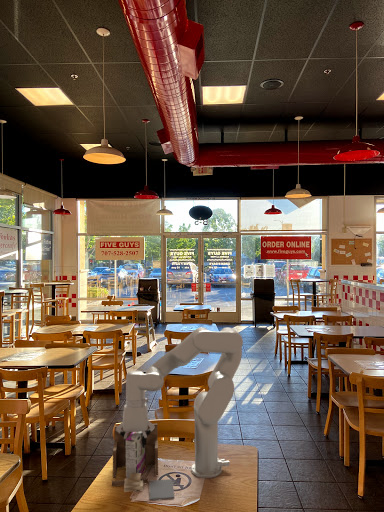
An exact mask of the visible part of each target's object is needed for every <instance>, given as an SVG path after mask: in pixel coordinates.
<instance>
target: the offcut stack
mask: <svg viewBox="0 0 384 512" xmlns="http://www.w3.org/2000/svg"><path fill="white" fill-rule="evenodd" d="M140 479H142V475H141V473H131V474H130V477H129V478H126V477H125V478H124V480H125V483H124V485H123V492H124V493H126V492H127V493H128V492H129V493H130V492H136V491H135V490H143V491H144V484H143V481H140Z"/></svg>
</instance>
